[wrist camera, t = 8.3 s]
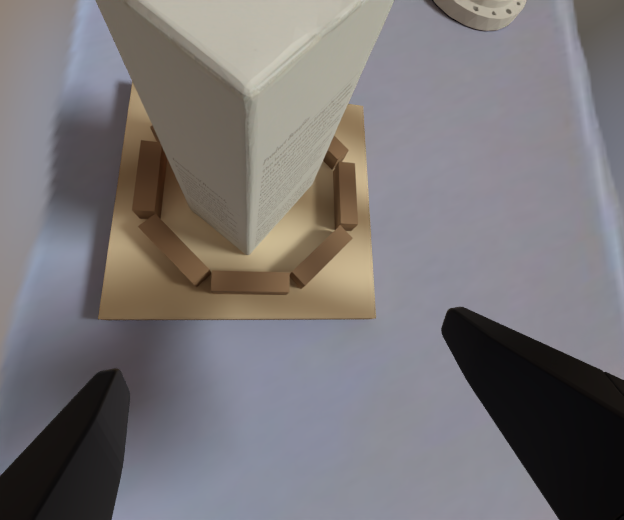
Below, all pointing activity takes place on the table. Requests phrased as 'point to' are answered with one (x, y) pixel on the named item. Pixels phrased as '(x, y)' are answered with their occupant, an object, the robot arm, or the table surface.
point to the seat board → (227, 257)
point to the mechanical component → (482, 12)
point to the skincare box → (245, 95)
